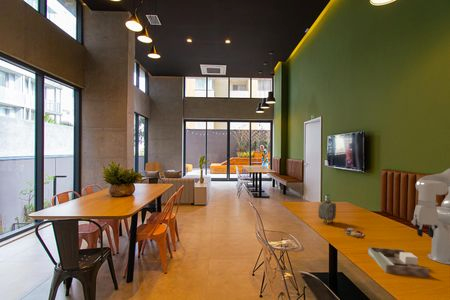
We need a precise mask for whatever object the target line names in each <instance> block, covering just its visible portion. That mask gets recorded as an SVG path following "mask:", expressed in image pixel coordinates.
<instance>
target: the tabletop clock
mask: <svg viewBox="0 0 450 300" xmlns="http://www.w3.org/2000/svg"><path fill="white" fill-rule="evenodd" d="M330 198H331V195H330V194H326V195H325V200H324V201H323V202H320V203H319V204H318V212H317V213H318V218H319V219H321V220H323V223H325V225H326V226H328V224H329V223H328V222H331V223H334V220H335V219H336V215H337V214H336V212H337V205H336V203H334V202H331V200H330Z"/></svg>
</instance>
